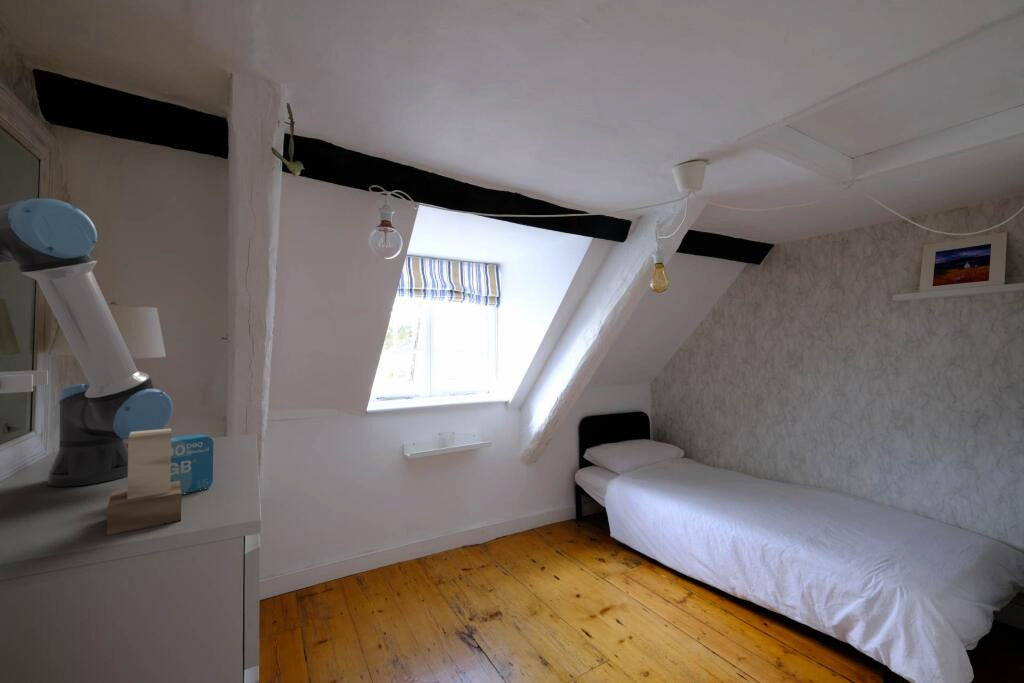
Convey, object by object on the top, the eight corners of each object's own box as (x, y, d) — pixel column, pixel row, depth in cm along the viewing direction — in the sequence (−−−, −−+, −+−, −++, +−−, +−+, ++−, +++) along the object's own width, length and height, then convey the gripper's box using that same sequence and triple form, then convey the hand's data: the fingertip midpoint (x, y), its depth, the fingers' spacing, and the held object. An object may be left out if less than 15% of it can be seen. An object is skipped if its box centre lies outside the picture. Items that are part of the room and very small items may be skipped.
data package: (146, 502, 90) (147, 444, 90) (139, 498, 92) (140, 441, 92) (213, 487, 99) (214, 435, 99) (205, 484, 102) (206, 432, 102)
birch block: (129, 490, 82) (130, 431, 82) (170, 484, 85) (171, 428, 86) (127, 499, 77) (128, 436, 77) (170, 492, 81) (171, 432, 81)
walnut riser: (112, 517, 82) (112, 490, 82) (179, 505, 88) (179, 480, 88) (107, 534, 74) (107, 505, 74) (181, 520, 80) (181, 493, 80)
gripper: (-133, 406, 72) (53, 394, 85) (-236, 429, 53) (24, 410, 66) (-134, 360, 72) (52, 356, 85) (-237, 367, 53) (24, 361, 66)
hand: (40, 380), depth 76 cm, fingers open, 13 cm apart
